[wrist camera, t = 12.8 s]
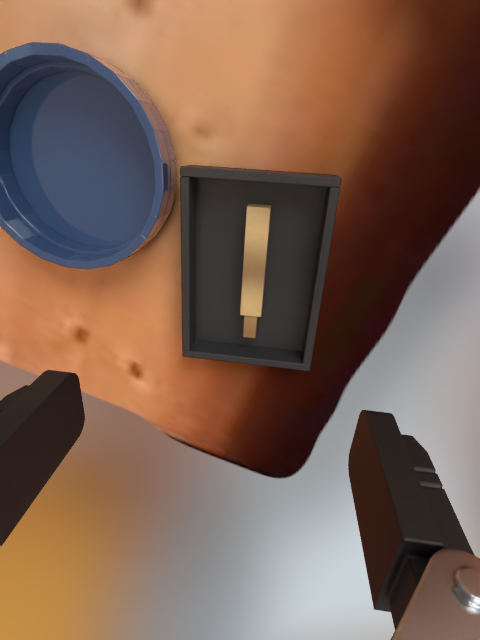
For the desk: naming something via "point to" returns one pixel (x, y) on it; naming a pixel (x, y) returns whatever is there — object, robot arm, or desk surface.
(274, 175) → the pen tray
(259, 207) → the wooden stick
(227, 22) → the desk surface
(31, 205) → the bowl
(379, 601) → the robot arm
